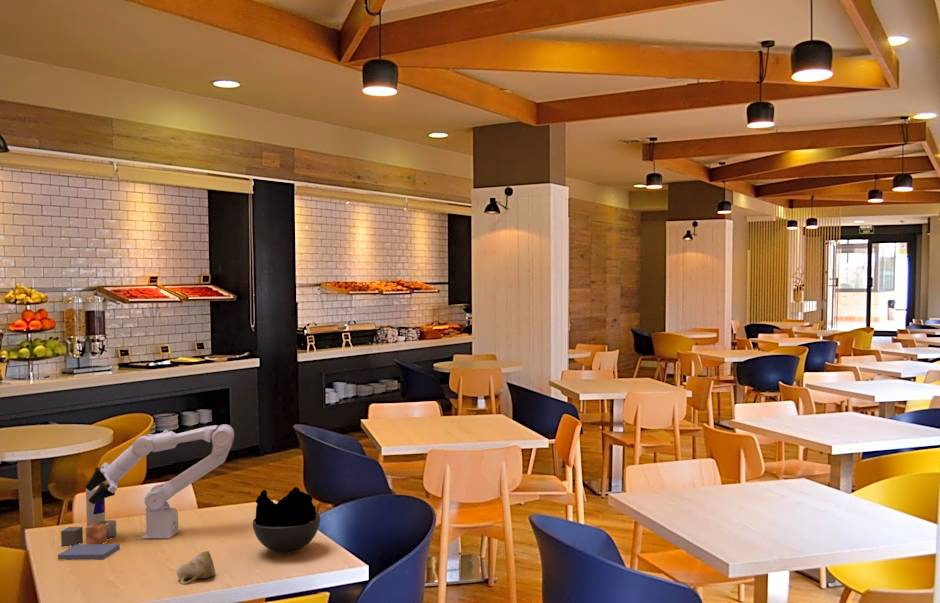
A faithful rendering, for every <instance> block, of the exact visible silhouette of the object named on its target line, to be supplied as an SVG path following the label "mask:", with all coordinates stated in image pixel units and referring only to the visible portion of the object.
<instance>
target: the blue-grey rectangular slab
mask: <svg viewBox="0 0 940 603" xmlns="http://www.w3.org/2000/svg"><path fill="white" fill-rule="evenodd" d="M120 546H121V545H120V543H112V544H111V543H105V544H86V543H85V544H82V543H81V544H76V545H74V546H72V547H68V548H67V549H66V550H64V551H62V552H60V553H58V554H57V560H58V559H104V560H105V559H107V558H108V557H110V556H111V555H112V554H114V553H116V552H117V551H119V550H120V549H121V547H120ZM106 557H107V558H106Z"/></svg>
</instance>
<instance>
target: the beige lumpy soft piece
mask: <svg viewBox="0 0 940 603" xmlns="http://www.w3.org/2000/svg"><path fill="white" fill-rule="evenodd" d="M214 564H215V563H214V562H213V558H212V555H211V553H210V551H209V550H206V551H205V550H204V551H201V552H200V553H198V554H197V555H196V556H194V557H193V558H192V559H191V560H189V562H187V563H184V564H182V565H180V566H178V568H177V570H176V575H177V578H178V579H179V580H180V584H181V585H184V586H185V585H190V584H191V583H193V582H194V581H196V580H198V579H209V578H210V577H213V576H215V574H216V569H215V566H214ZM186 580H187V581H186Z"/></svg>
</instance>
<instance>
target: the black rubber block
mask: <svg viewBox="0 0 940 603" xmlns="http://www.w3.org/2000/svg"><path fill="white" fill-rule="evenodd" d="M83 529H84V528H83V526H68V527H66V528H64V529H62V530H61V531H60V532H61V533H60V534H61V536H60V537H61V538H60V539H61V541H60V542H61V547H62V546H70V545H71V546H74V545H76V544H79V543H81V542H83V543H84V533H83V532H84V530H83ZM81 544H82V543H81Z"/></svg>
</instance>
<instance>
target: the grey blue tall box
mask: <svg viewBox="0 0 940 603" xmlns="http://www.w3.org/2000/svg"><path fill="white" fill-rule="evenodd" d="M99 486H100V485H98V486H97V487H96V488H94V489H93V490H91V491H89V490H88V489H86V488H85V500H86V502H85V504H86V508H85V510H86V527H88V526H90V525H91V524H99V523H100V522H102V521H106V504H105V503H106V500H105V499H106V498H104V499H102V500H100V501H99V502H97V503H95V504H92V503H91V502H89V499H90V497H91V496H92V495H93V494H94V493H95V492H96V491H97V489H98V488H99Z"/></svg>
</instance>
